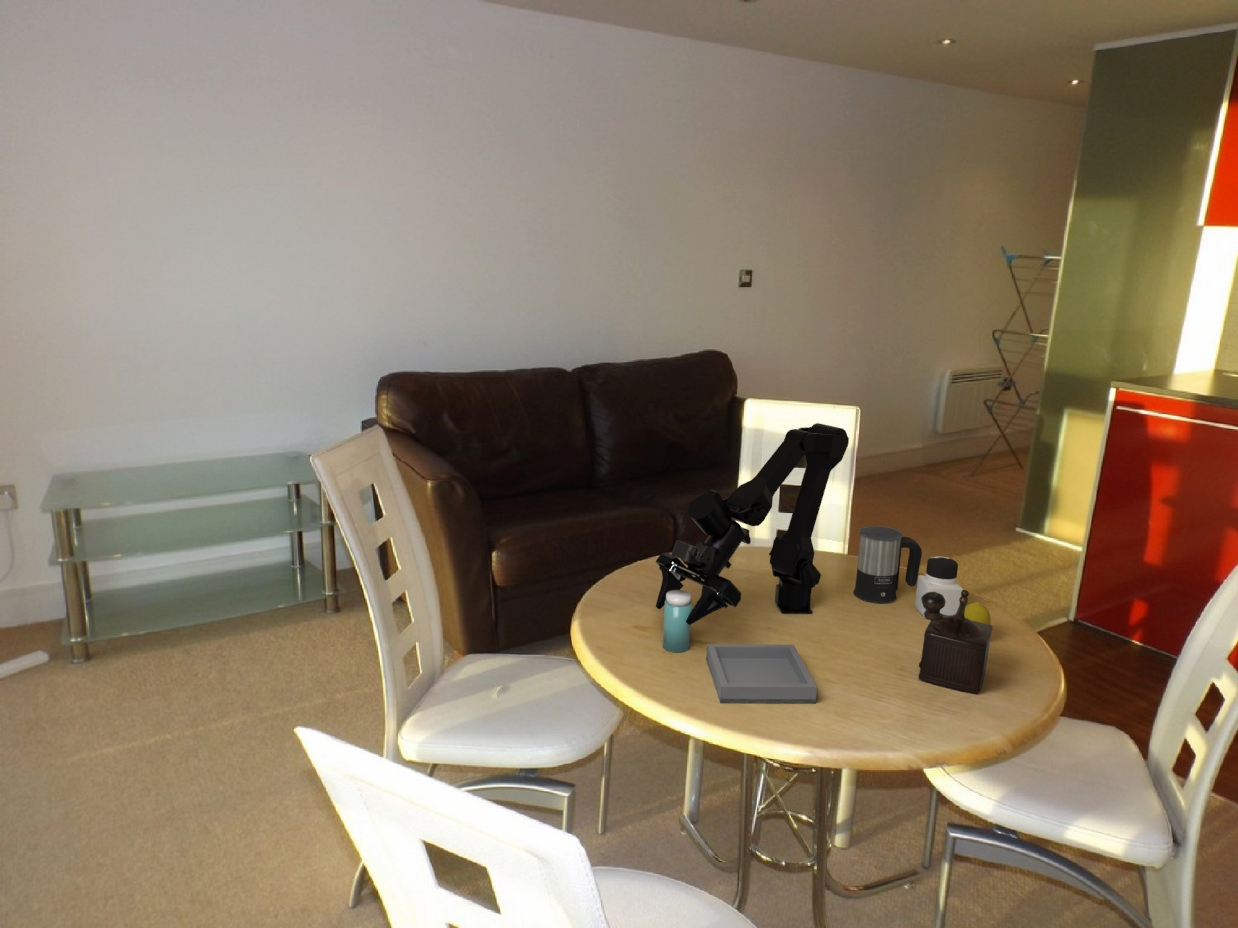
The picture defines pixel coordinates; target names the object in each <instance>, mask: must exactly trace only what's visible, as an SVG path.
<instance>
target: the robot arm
mask: <svg viewBox="0 0 1238 928" xmlns="http://www.w3.org/2000/svg"><path fill="white" fill-rule="evenodd" d="M849 440H850V437H849V436H848V433H847V431H846V430H845V429H844V428H842V427H838V426H833V425H829V424H825V423H819V422H817V423H814V424H813V425H811V426H809V427H806V426H804V427H799V428H793V429H789V430H788V431H787V432H786V434H785V437H784V439H783V441H782V442H781V444H780V445H779V446H778V447H777V448H776V450H775V451H774V452H773V454H772V455H771V456H770V457H769V459H768V460H767V461H766V462H765V463H764V465H763V466H762V467H761V469H760V470H759V471H758V472H757V474H756V475H755V476H754V477H753V478H752V479H751V480H749V481H748V480H747V481H746V482H744V483H741V484H740V485H739V486H738V487H737V488H736V489H735V490H733V491H732V492H731V493H730V494H729V496H728V497H725V498H722V496H721V494H720V493H719V492H718V491H716V490H713V489H709V490H708V492H707V493H706V494H702V495H699V496H698V497H696V498H695V499H693V500H691V502H690V504H689V506H688V508H687V514H688V516H689V517H690V518H691V520H692V521H693V522H694V523H695V524H696V525H697V527H698V528H699V529H700V530H701V531H702V532H703V533H704V534H705V535H707V538H706V540H705V541H704V542H703V541H698V542H696V544H695V545H692V544H690V543H687V542H685V541H681V540H678V539H676V541H675V544H674V547H673V549H672V552H671V554H670V553H668V552H663V553H660V554H659V555H658V558H657V559H656V560H655V563H656V564H657V566H659V567H658V569H659V571H660V572H661V575H662V576H661V577H662V580H661V585H660V589H659V593H658V595H657V596H658V597H657V600H656V604H655V608H656V609H657V610H661V609H662V608H663V607H665V600H666V593H667V592H669V591H672V590H682V588H684V584H683V583H682V582H684V581H686V579H688V580H689V581H692V582H694V583H695V584H698V585H701V586H702V587H701V595H700V598H699V599H698V600H697V601H696V603H695V605H694V606H693V608H691V612H690V614H689V616H688V618H687V620H686V623H687V624H688V625H690V626H691V625H692V624H694V623H696V622H697V621H699V620H701V619H703V618H704V617H706V616H708V615H710V614H712V613H714V612H716V611H718V610H720V609H724V608H725V609H727V608H728V607H729V606H731V607H734V608H737V607H738V605H739V603H740V602H741V600H742V592H741V591H740V590H739V588H738V587H737V586H736V585H735V584H734V583H733V582H732V581H731V580H730V579H728V578H725V577H723V576H721V575H720V574H721V572H722V571H723V570H724V568H726V569H728V570H729V569H730V568H731V566H732V563H731V561H730V560H731V558H732V557H733V555H734V554H735V552H736V551H737V549H738V548H739V546H740V545H741V543H744V544H747V545H750V544H751V536H750V529H747V528H745V527H742V526H741V525H740V523H742V524H745V525H747V526H750V527H759V526H760V525H761V524H763V522H765V519H766V518H767V516H768V515H769V512H770V511H771V509H772V508H773V499H774V498H773V497H774V496H775V494H776V492H777V491H778V490H779V488H780V487H781V486H782V484H783V483H784V482H785V480H786V479H787V478H788V477H789V476H790V474H791V473H792V472H793V470H794V469H795V468H796V467H797V466H798V464H799V462H800V461H801V460H802V459H803V458H805V461H806V464H805V465H806V466H805V470H804V473H803V477H802V479H801V483H800V487H799V489H798V490H799V491H798V493H797V497H796V500H795V503H794V507H793V511H792V514H791V517H790V521H789V524H788V528H787V530H786V531H785V532H784V533H783V534H782V535H781V536H780V537H779V536H775V537H774V539H773V541H772V547H771V550H770V552H769V554H768V555H769V556H770V557H769V564H770V568H771V571H772V575H773V577H775V578H776V577H777V578H778V583H777V584H776V585H775V595H774V603H775V604H776V606H777V608H778V609H779V611H780V613H782V614H812V613H813V609H812V608H811V602H812V601H811V600H812V589H813V588H815V587H816V585H819V583H820V580H821V577H822V574H821V572H820V571H819V570H818V569H817V567H816V566H815V565H814V563H813V562H814V559H815V549H814V545H813V541H812V536H813V532H814V528H815V525H816V522H817V518H818V515H819V512H820V508H821V505H822V501H823V497H824V496H825V491H826V489H827V488H826V487H827V485H828V481H829V477H830V474H831V471H833V469H835V467H836V466H838V465H839V464H840V463H841V462H842V460H843V459H844V455H845V454H846V451H847V449H848V446H849V442H850V441H849ZM739 522H740V523H739Z"/></svg>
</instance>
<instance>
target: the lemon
mask: <svg viewBox="0 0 1238 928" xmlns="http://www.w3.org/2000/svg"><path fill="white" fill-rule="evenodd" d="M964 616H965V618H968V619H969V620H971V621H976V622H980V623H984V624H988V625H992V624H991V622H992V621H991V620H992V618H991V613H990V611H989V609H988V608H987V607H986V606H985V605H984V604H982V603H981V602H980V601H976V602H972V603H968V604H967V605H966V607H965V613H964Z"/></svg>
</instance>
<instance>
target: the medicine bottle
mask: <svg viewBox="0 0 1238 928" xmlns="http://www.w3.org/2000/svg"><path fill="white" fill-rule="evenodd" d="M925 569H926V572H925V575H924V574H920V575H919V574H918V578H917V583H916V593H915V599H914V606H915V608H916V609H917V610H918V612H919V613H920V614H921V616H922V617H923V619H925V620H927V619H926V618H925V616H924V612H925V610H926V609H925V608H924V607H923V604H922V600H921V598H922V596H923V595H924V594H926V593H928V592H937V593H940V594H942V595H943V596H944V599H945V601H946V602H945V606H944V607H943V608H942V609H941V610H940V613H942V614H944V615H948V616H949V615H955V614H956V613H957V610H958V608H959V605H960V602H959V599H960V597H962V596H961V592H962V591H963V590H964V589H963V587H962V586H961V585H960V584H959V582H957V578H958V569H959V563H958V562H957V561H956V560H954V559H952V558H951V557H947V556H933V557H932V556H931V557H929V558H928V559H927V562H926V568H925Z"/></svg>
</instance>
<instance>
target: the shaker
mask: <svg viewBox="0 0 1238 928" xmlns="http://www.w3.org/2000/svg"><path fill="white" fill-rule="evenodd" d="M692 602H693V601H692V594H691V593H690V592H689V591H686V590H682V589H680V590H672V591H669V592H667V593H666V600H665V605H664V606H663V607H664V611H663V631H662V632H663V633H662V648H663V650H664V651H665V652H666V651H667V652H669V653H673V654H675V653H676V654H678V653H679V654H682V653H686V652H688V651H689V650H690V642H691V641H690V639H691V625H688V624H687V623H686V620H687V618H688V616H689V614H690V612H691V611H692V604H693V603H692Z"/></svg>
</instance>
